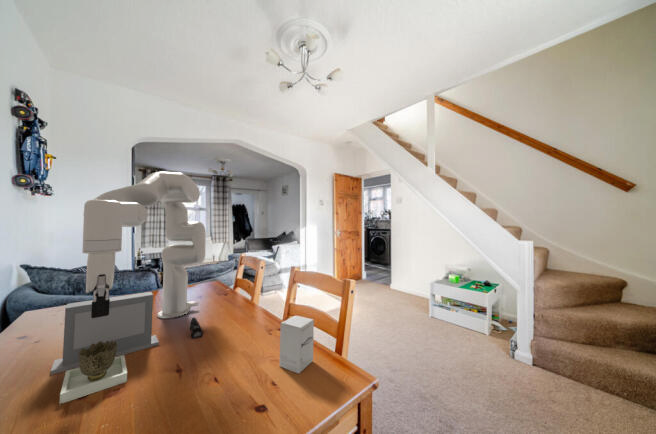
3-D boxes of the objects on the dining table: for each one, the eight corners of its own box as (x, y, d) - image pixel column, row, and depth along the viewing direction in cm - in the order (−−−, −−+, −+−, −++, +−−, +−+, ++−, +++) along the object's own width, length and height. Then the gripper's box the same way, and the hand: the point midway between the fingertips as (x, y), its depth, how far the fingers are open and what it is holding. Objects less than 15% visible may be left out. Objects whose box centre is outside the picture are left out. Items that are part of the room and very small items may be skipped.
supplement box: (299, 374, 65) (300, 328, 66) (278, 366, 69) (279, 322, 69) (313, 361, 71) (314, 319, 72) (294, 354, 75) (294, 314, 76)
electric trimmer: (198, 323, 99) (199, 315, 100) (203, 337, 86) (203, 328, 87) (188, 325, 97) (188, 317, 97) (191, 340, 84) (191, 331, 85)
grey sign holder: (155, 337, 85) (157, 290, 86) (158, 344, 80) (160, 294, 81) (54, 363, 69) (57, 304, 69) (50, 374, 64) (54, 310, 64)
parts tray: (124, 362, 70) (124, 354, 70) (126, 381, 61) (127, 372, 61) (65, 379, 62) (66, 371, 62) (59, 404, 53) (60, 394, 53)
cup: (91, 389, 57) (93, 355, 58) (67, 385, 59) (69, 352, 59) (123, 371, 65) (124, 341, 65) (101, 367, 66) (103, 338, 66)
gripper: (84, 244, 67) (82, 305, 66) (80, 250, 54) (77, 326, 54) (120, 243, 72) (118, 299, 71) (123, 248, 59) (121, 317, 59)
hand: (100, 311), depth 63 cm, fingers open, 9 cm apart
